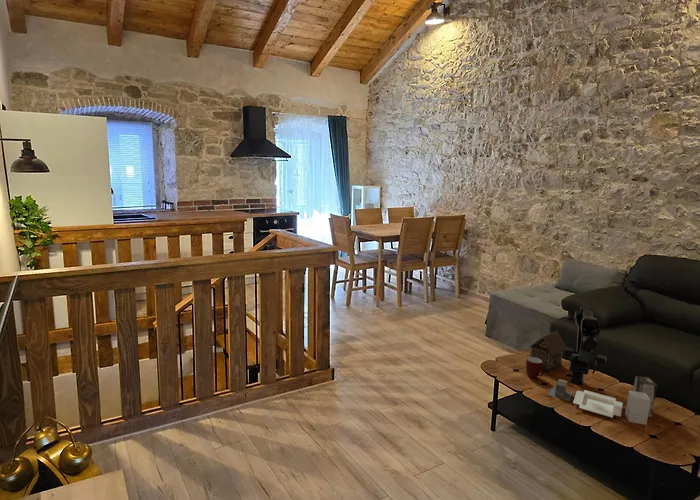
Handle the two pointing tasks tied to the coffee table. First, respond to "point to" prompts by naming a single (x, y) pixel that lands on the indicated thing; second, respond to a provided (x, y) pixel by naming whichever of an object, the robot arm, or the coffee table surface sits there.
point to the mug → (534, 367)
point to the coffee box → (646, 390)
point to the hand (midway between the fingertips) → (582, 371)
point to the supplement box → (637, 407)
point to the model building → (549, 351)
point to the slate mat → (566, 397)
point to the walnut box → (561, 388)
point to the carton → (598, 403)
